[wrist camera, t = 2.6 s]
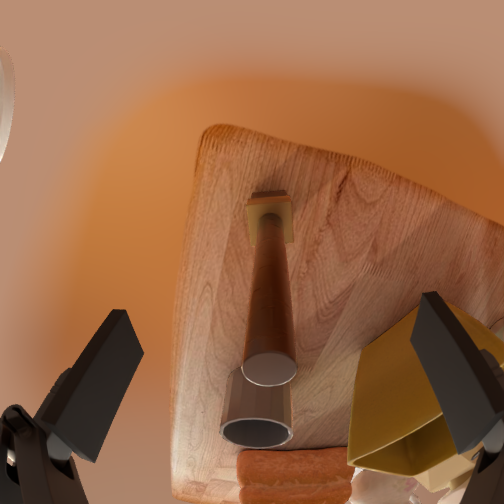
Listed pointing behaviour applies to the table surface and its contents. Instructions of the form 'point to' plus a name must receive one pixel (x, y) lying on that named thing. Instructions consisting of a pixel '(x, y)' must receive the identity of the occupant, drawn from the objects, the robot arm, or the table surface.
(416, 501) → the ceramic pitcher
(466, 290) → the table surface
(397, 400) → the flower pot
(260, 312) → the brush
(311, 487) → the bread
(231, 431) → the gray pen holder
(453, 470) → the cream faceted piece
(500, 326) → the coffee cup
